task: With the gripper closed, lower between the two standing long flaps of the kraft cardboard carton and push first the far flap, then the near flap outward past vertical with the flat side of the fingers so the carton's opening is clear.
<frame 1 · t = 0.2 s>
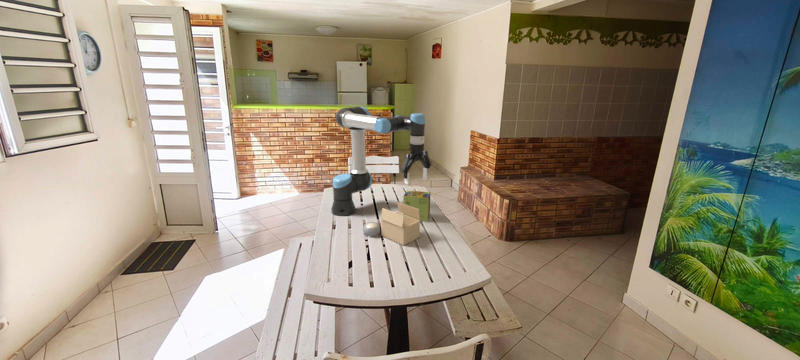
hand: (415, 181, 187), 28 cm above the table, fingers open, 13 cm apart
flap far: (408, 210, 186), point 13 cm above the table, hinge at 80.0°
flap near: (392, 217, 177), point 13 cm above the table, hinge at 80.0°
protein box: (416, 217, 210), on the table
carton: (400, 236, 186), on the table
push tap light: (371, 233, 189), on the table
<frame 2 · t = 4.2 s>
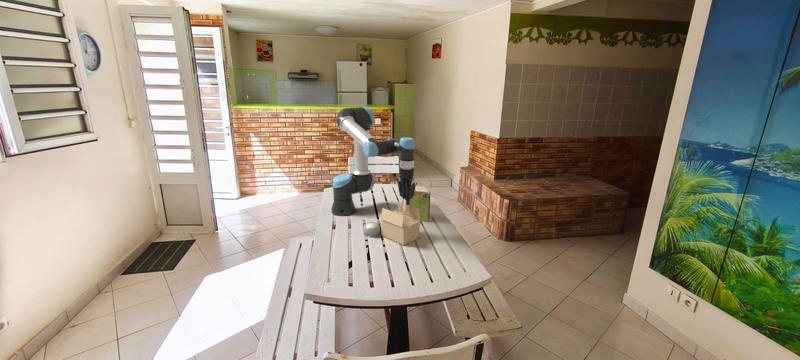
hand: (406, 209, 184), 14 cm above the table, fingers closed
flap far: (408, 210, 186), point 13 cm above the table, hinge at 80.9°, touching gripper
everything else where it was.
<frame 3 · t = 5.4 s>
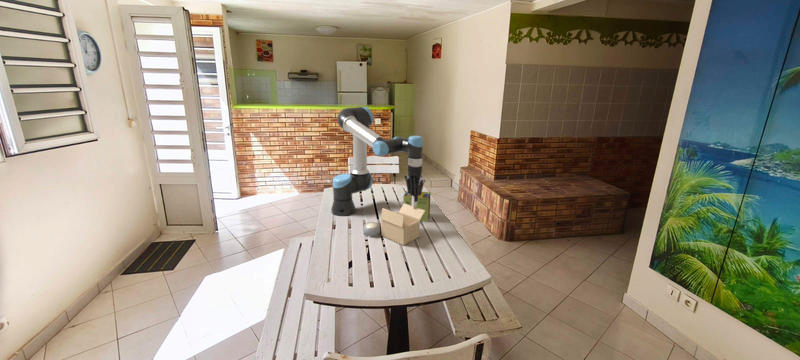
hand: (414, 206, 189), 14 cm above the table, fingers closed
flap far: (411, 211, 189), point 12 cm above the table, hinge at 136.4°
everything else where it was.
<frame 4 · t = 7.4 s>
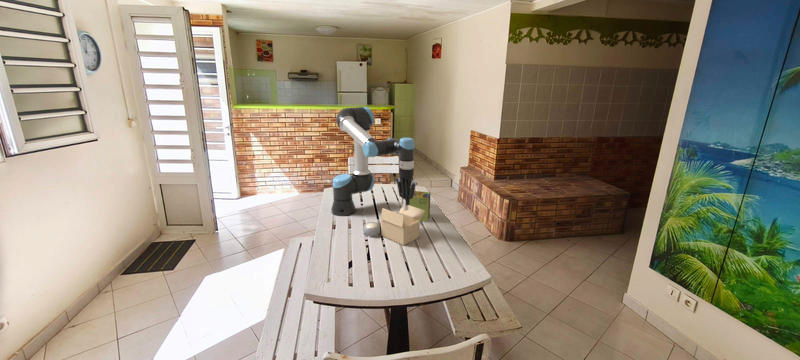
hand: (405, 210, 184), 14 cm above the table, fingers closed
flap far: (411, 211, 189), point 12 cm above the table, hinge at 138.3°
everything else where it was.
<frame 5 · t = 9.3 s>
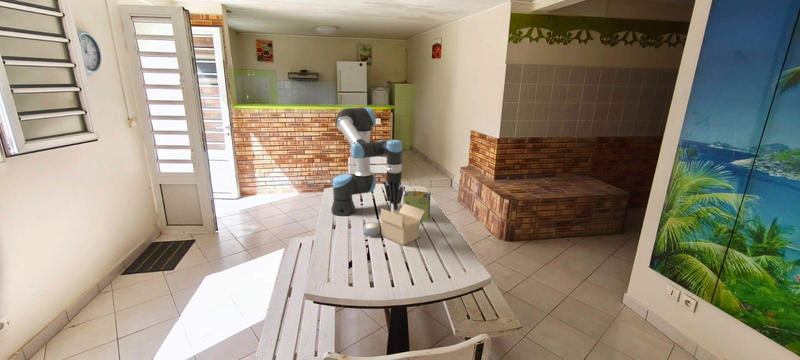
hand: (393, 214, 178), 14 cm above the table, fingers closed
flap near: (391, 217, 177), point 13 cm above the table, hinge at 89.4°, touching gripper
everything else where it was.
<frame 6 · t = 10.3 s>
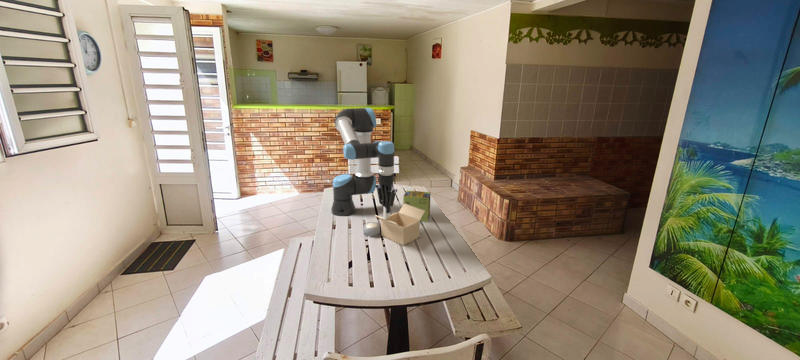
hand: (386, 218, 174), 14 cm above the table, fingers closed
flap near: (388, 221, 175), point 12 cm above the table, hinge at 136.5°
everything else where it was.
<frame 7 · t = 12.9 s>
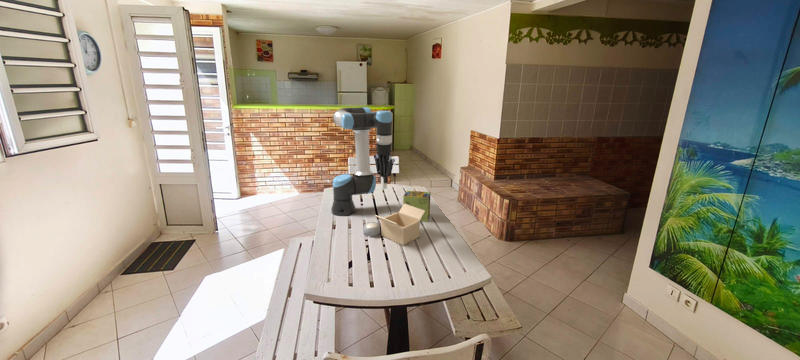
hand: (383, 188, 174), 29 cm above the table, fingers closed
nothing on the table moved.
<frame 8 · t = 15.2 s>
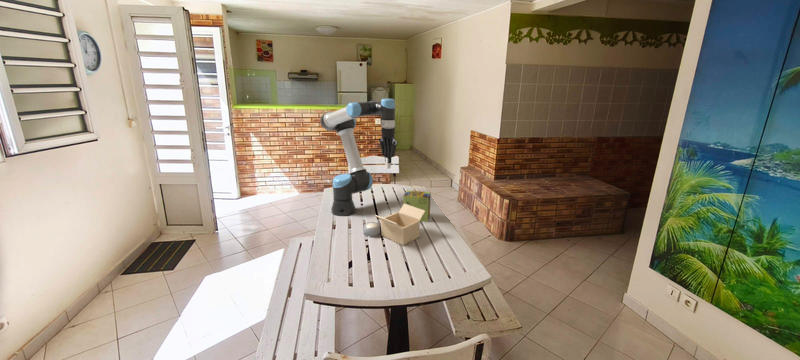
hand: (388, 168, 196), 32 cm above the table, fingers closed
nothing on the table moved.
at the end: flap near at +136° (first picture: +80°); flap far at +138° (first picture: +80°) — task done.
